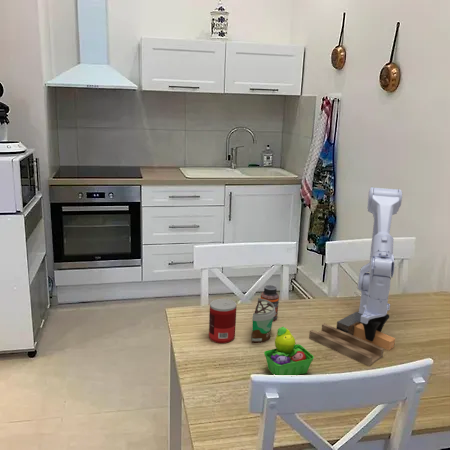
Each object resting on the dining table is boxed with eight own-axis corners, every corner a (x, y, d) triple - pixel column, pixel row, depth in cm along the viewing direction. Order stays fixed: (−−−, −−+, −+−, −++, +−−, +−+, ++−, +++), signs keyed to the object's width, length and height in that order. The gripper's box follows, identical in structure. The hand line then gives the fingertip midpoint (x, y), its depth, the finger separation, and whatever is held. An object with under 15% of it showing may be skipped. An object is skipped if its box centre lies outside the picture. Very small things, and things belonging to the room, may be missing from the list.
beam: (354, 325, 151) (356, 311, 149) (365, 330, 148) (367, 316, 147) (335, 336, 143) (337, 321, 142) (346, 341, 140) (348, 326, 139)
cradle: (308, 339, 140) (309, 330, 140) (323, 332, 145) (324, 323, 145) (368, 367, 126) (370, 357, 126) (382, 358, 132) (383, 348, 131)
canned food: (240, 337, 140) (241, 303, 137) (222, 346, 134) (223, 311, 132) (221, 328, 145) (223, 296, 142) (203, 337, 139) (204, 303, 137)
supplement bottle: (267, 325, 149) (269, 292, 146) (255, 318, 153) (257, 286, 150) (280, 320, 152) (283, 288, 149) (268, 313, 157) (270, 282, 154)
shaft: (340, 329, 146) (342, 320, 145) (346, 326, 148) (347, 317, 147) (388, 351, 135) (390, 342, 134) (393, 348, 137) (395, 338, 136)
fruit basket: (275, 383, 118) (279, 343, 115) (259, 365, 125) (262, 327, 123) (313, 375, 122) (317, 336, 119) (295, 358, 130) (298, 321, 127)
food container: (271, 348, 135) (274, 316, 132) (250, 345, 136) (252, 314, 133) (275, 329, 146) (278, 299, 144) (256, 326, 147) (258, 297, 145)
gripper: (376, 285, 144) (371, 325, 148) (353, 298, 134) (348, 340, 138) (398, 292, 140) (392, 333, 143) (375, 306, 130) (370, 349, 133)
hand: (372, 337), depth 140 cm, fingers closed on shaft, 3 cm apart
